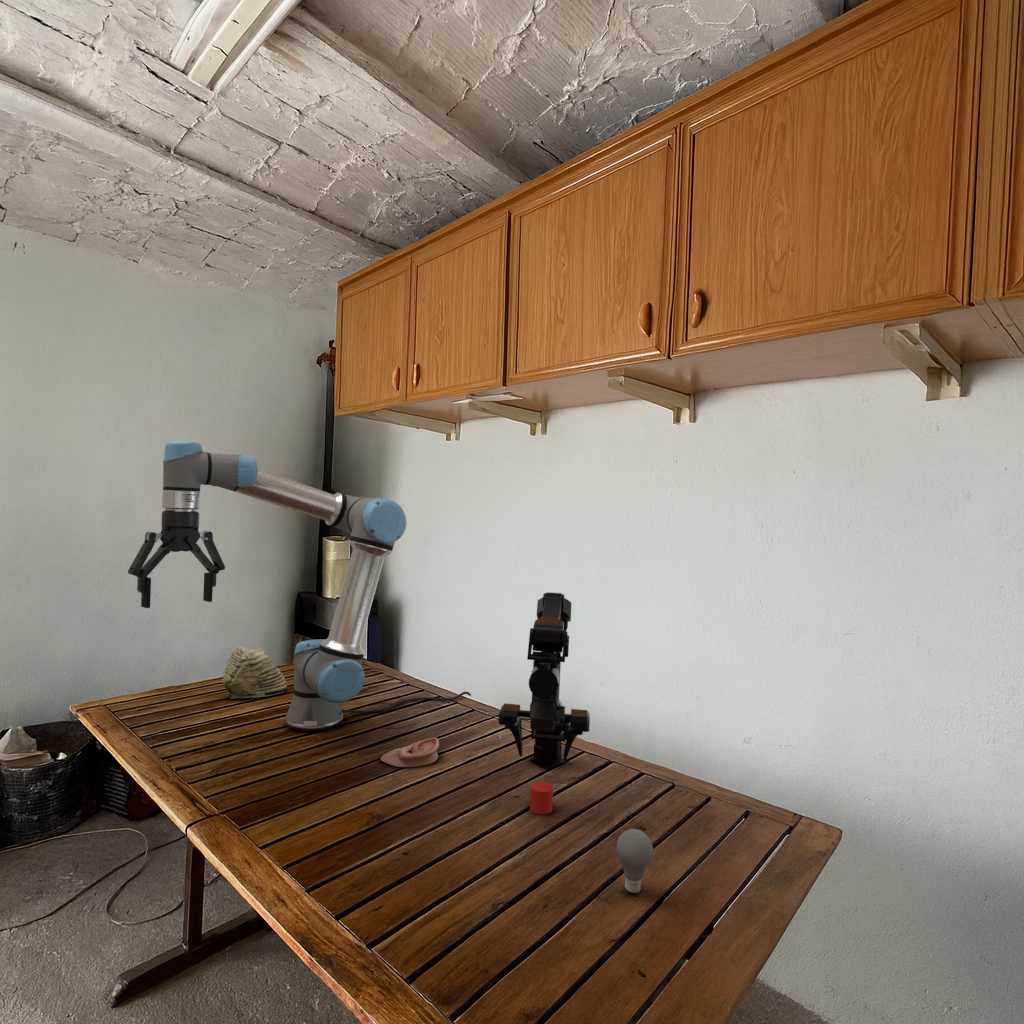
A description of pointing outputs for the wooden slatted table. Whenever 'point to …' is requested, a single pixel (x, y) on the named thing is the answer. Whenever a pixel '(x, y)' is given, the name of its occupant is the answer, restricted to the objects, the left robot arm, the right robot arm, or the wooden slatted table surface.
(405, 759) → the anatomical model
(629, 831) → the light bulb
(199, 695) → the wooden slatted table surface
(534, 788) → the canister
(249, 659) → the fossil
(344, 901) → the wooden slatted table surface
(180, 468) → the left robot arm
